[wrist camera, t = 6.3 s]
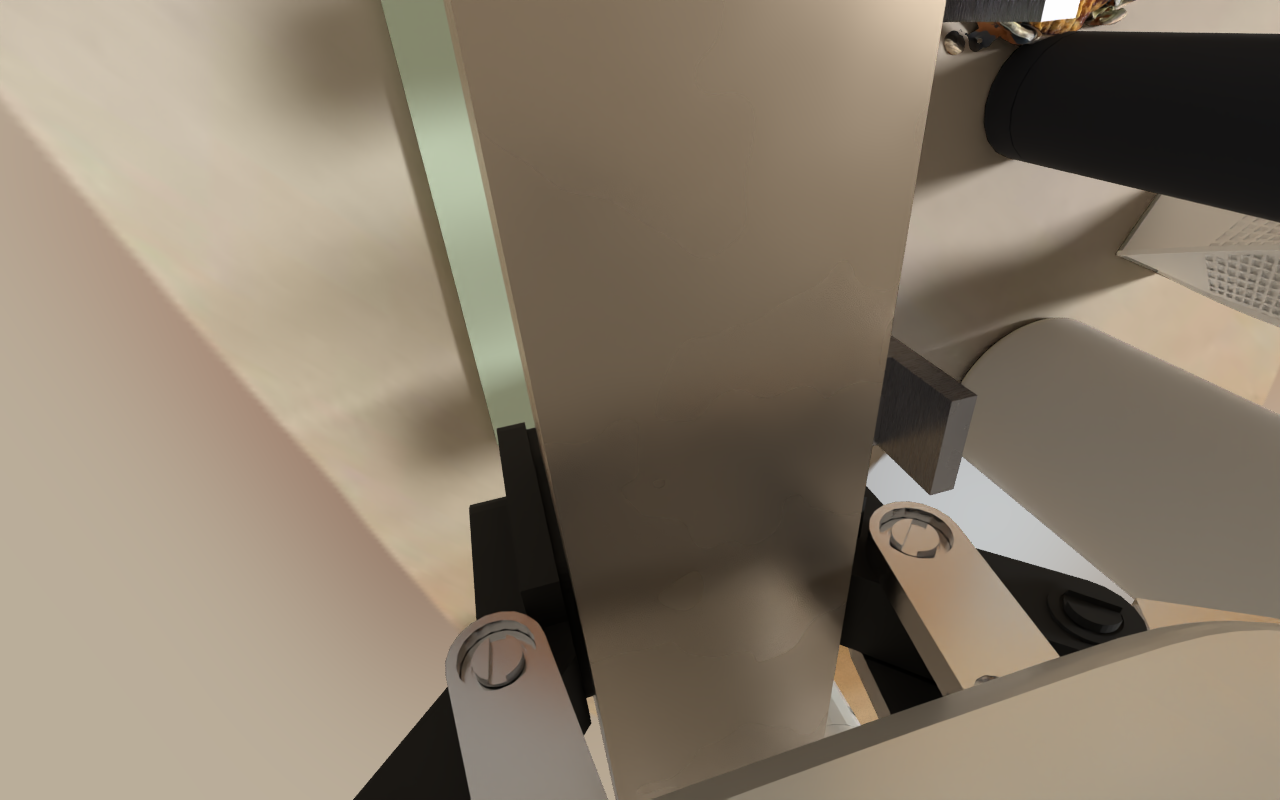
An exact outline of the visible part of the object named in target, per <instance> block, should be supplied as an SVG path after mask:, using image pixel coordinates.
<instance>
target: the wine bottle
mask: <svg viewBox="0 0 1280 800" xmlns="http://www.w3.org/2000/svg"><path fill="white" fill-rule="evenodd" d="M984 126H985V130H986V135H987V139H988V141H989V143H990V144H991V146H992V147H993V148H994V150H995V151H996V152H997V153H999V154H1001V155H1003V156H1005V157H1007V158H1011V159H1015V160H1019V161H1023V162H1027V163H1032V164H1036V165H1040V166H1044V167H1048V168H1053V169H1057V170H1061V171H1065V172H1069V173H1073V174H1078V175H1082V176H1086V177H1090V178H1094V179H1099V180H1103V181H1107V182H1111V183H1115V184H1120V185H1124V186H1128V187H1132V188H1136V189H1141V190H1145V191H1149V192H1153V193H1157V194H1161V195H1166V196H1170V197H1174V198H1178V199H1182V200H1187V201H1191V202H1195V203H1199V204H1203V205H1208V206H1212V207H1216V208H1220V209H1224V210H1229V211H1233V212H1237V213H1241V214H1245V215H1249V216H1254V217H1258V218H1262V219H1266V220H1270V221H1275V222H1279V223H1280V34H1245V33H1173V32H1100V31H1068V32H1065V33H1062V34H1058V35H1055V36H1051V37H1048V38H1045V39H1043V40H1041V41H1038V42H1036V43H1034V44H1029V43H1028V44H1023V45H1022V46H1020V47H1019V48H1018V49H1016V51H1015V52H1014V53H1013V54H1012V55H1011V57H1010V58H1009V59H1008V60H1007V61H1006V62H1005V64H1004V65H1003V66H1002V68H1001V70H1000V71H999V73H998V75H997V77H996V79H995V80H994V82H993V84H992V86H991V89H990V93H989V96H988V99H987V102H986V106H985V120H984Z"/></svg>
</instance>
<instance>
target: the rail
mask: <svg viewBox="0 0 1280 800" xmlns="http://www.w3.org/2000/svg"><path fill="white" fill-rule="evenodd" d="M443 2H444V7H445V12H446V16H447V21H448V26H449V30H450V35H451V39H452V44H453V49H454V53H455V58H456V63H457V67H458V72H459V76H460V81H461V86H462V90H463V95H464V100H465V104H466V109H467V113H468V118H469V123H470V127H471V132H472V137H473V141H474V146H475V151H476V155H477V160H478V164H479V169H480V174H481V178H482V183H483V188H484V192H485V197H486V201H487V206H488V211H489V215H490V220H491V225H492V229H493V234H494V238H495V243H496V248H497V252H498V257H499V262H500V266H501V271H502V275H503V280H504V285H505V289H506V294H507V299H508V303H509V308H510V313H511V317H512V322H513V326H514V331H515V336H516V340H517V345H518V350H519V354H520V359H521V363H522V368H523V373H524V377H525V382H526V387H527V391H528V396H529V400H530V405H531V410H532V414H533V419H534V424H535V428H536V433H537V438H538V442H539V447H540V451H541V456H542V460H543V464H544V469H545V473H546V477H547V481H548V485H549V490H550V494H551V498H552V502H553V506H554V511H555V515H556V519H557V523H558V527H559V532H560V536H561V540H562V544H563V549H564V553H565V557H566V561H567V565H568V570H569V574H570V579H571V583H572V588H573V592H574V597H575V602H576V606H577V611H578V616H579V620H580V625H581V630H582V635H583V639H584V644H585V649H586V653H587V658H588V663H589V668H590V672H591V677H592V682H593V686H594V691H595V695H594V696H593V697H594V701H595V706H596V711H597V715H598V720H599V724H600V729H601V734H602V738H603V743H604V748H605V752H606V757H607V762H608V766H609V771H610V775H611V780H612V785H613V789H614V794H615V798H616V800H651V799H654V798H656V797H659V796H662V795H665V794H668V793H670V792H673V791H676V790H679V789H682V788H684V787H687V786H690V785H693V784H696V783H698V782H701V781H704V780H707V779H710V778H713V777H715V776H718V775H721V774H724V773H727V772H729V771H732V770H735V769H738V768H741V767H743V766H746V765H749V764H752V763H755V762H758V761H761V760H763V759H766V758H769V757H772V756H775V755H778V754H780V753H783V752H786V751H789V750H792V749H795V748H798V747H800V746H803V745H806V744H809V743H812V742H815V741H818V740H820V739H823V738H824V735H825V729H826V723H827V717H828V711H829V705H830V699H831V693H832V687H833V681H834V675H835V669H836V663H837V657H838V651H839V645H840V639H841V632H842V626H843V620H844V614H845V608H846V602H847V596H848V590H849V584H850V578H851V572H852V566H853V560H854V554H855V548H856V542H857V536H858V530H859V524H860V518H861V512H862V506H863V500H864V494H865V488H866V481H867V475H868V469H869V463H870V457H871V451H872V445H873V439H874V433H875V427H876V421H877V415H878V409H879V403H880V397H881V391H882V385H883V379H884V373H885V367H886V361H887V355H888V349H889V343H890V337H891V331H892V325H893V319H894V312H895V306H896V300H897V294H898V288H899V282H900V276H901V270H902V264H903V258H904V252H905V246H906V240H907V234H908V228H909V222H910V216H911V210H912V204H913V198H914V192H915V186H916V180H917V174H918V168H919V162H920V155H921V149H922V143H923V137H924V131H925V125H926V119H927V113H928V107H929V101H930V95H931V89H932V83H933V77H934V71H935V65H936V59H937V53H938V47H939V41H940V35H941V29H942V23H943V17H944V11H945V5H946V0H443Z"/></svg>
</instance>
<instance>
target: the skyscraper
mask: <svg viewBox="0 0 1280 800" xmlns="http://www.w3.org/2000/svg"><path fill="white" fill-rule="evenodd" d="M1115 255H1117V256H1119V257H1122V258H1124V259H1126V260H1129V261H1131V262H1134V263H1136V264H1138V265H1141V266H1143V267H1146V268H1148V269H1150V270H1153V271H1155V272H1157V273H1159V274H1161V275H1163V276H1165V277H1167V278H1169V279H1171V280H1173V281H1175V282H1177V283H1179V284H1181V285H1183V286H1185V287H1187V288H1189V289H1191V290H1193V291H1195V292H1197V293H1199V294H1201V295H1203V296H1206V297H1208V298H1210V299H1212V300H1214V301H1216V302H1218V303H1221V304H1223V305H1225V306H1228V307H1230V308H1232V309H1235V310H1237V311H1239V312H1242V313H1244V314H1247V315H1249V316H1251V317H1254V318H1256V319H1259V320H1262V321H1264V322H1267V323H1270V324H1272V325H1275V326H1277V327H1280V223H1279V222H1275V221H1270V220H1266V219H1262V218H1258V217H1254V216H1249V215H1245V214H1241V213H1237V212H1233V211H1229V210H1224V209H1220V208H1216V207H1212V206H1208V205H1203V204H1199V203H1195V202H1191V201H1187V200H1182V199H1178V198H1174V197H1170V196H1166V195H1161V194H1157V195H1156V196H1155V198H1154V199H1153V201H1152V202H1151V204H1150V205H1149V207H1148V208H1147V209H1146V211H1145V212H1144V214H1143V215H1142V217H1141V218H1140V220H1139V221H1138V223H1137V224H1136V225H1135V227H1134V228H1133V230H1132V231H1131V233H1130V234H1129V236H1128V237H1127V239H1126V240H1125V241H1124V243H1123V244H1122V246H1121V247H1120V249H1119V250H1118V252H1117V253H1116V254H1115Z"/></svg>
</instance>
